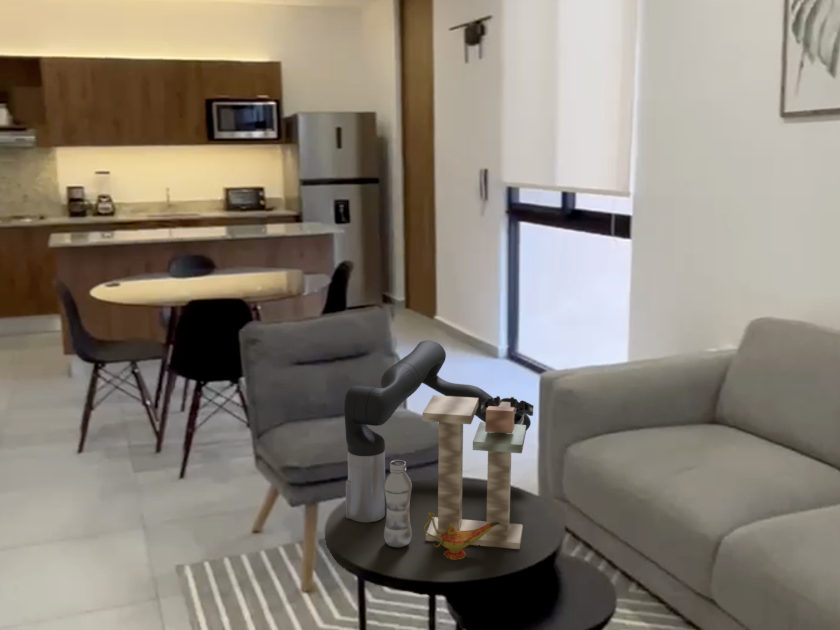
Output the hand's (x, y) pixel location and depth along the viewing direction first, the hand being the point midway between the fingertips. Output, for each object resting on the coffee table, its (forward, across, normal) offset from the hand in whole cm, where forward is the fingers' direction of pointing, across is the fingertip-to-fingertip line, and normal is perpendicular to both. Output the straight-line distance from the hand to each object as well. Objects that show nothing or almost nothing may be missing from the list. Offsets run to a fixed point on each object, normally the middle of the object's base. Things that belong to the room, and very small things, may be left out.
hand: (504, 400), depth 206 cm
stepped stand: (-7, +6, -32) cm, 33 cm away
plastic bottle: (0, +22, -36) cm, 42 cm away
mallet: (+1, 0, -6) cm, 6 cm away
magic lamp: (+2, +7, -37) cm, 37 cm away
